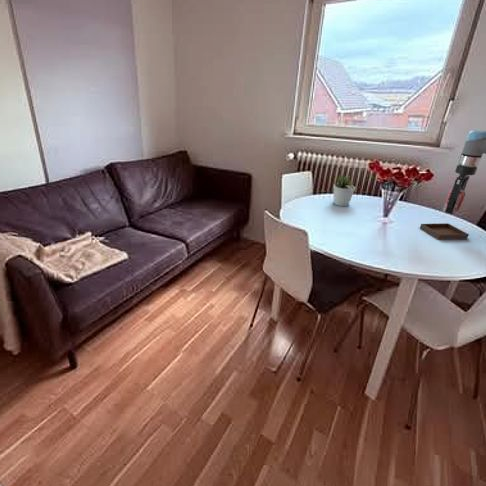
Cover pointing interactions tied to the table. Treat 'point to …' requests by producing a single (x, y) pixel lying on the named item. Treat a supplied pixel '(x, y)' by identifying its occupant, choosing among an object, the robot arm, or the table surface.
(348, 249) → the table surface
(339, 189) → the potted plant
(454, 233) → the tray
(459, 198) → the beverage can
